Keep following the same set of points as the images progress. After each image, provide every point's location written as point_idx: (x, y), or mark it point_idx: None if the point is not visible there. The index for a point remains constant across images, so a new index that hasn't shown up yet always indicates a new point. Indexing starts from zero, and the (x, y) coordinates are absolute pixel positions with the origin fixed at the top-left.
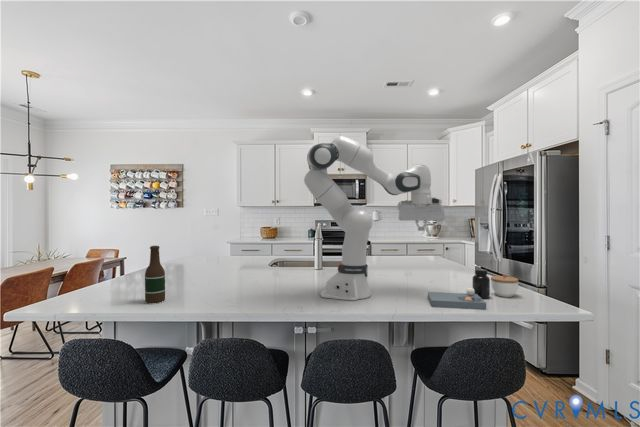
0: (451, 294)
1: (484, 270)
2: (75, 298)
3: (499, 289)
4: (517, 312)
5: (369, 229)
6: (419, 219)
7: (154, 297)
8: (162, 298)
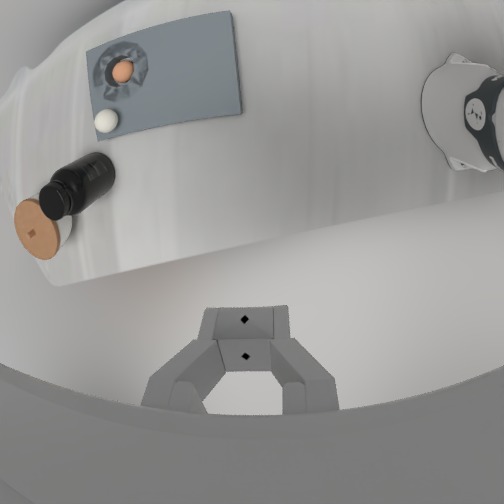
0: (163, 103)
1: (42, 197)
2: None
3: None
4: (47, 67)
5: None
6: (270, 428)
7: None
8: None
